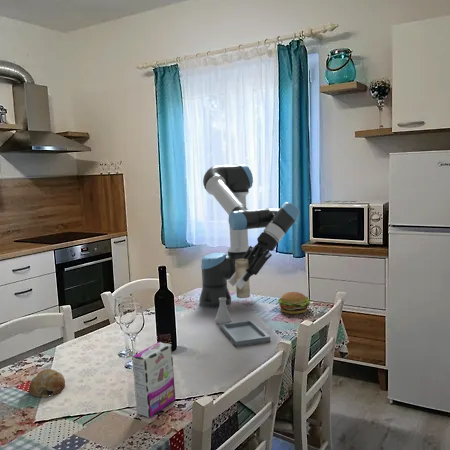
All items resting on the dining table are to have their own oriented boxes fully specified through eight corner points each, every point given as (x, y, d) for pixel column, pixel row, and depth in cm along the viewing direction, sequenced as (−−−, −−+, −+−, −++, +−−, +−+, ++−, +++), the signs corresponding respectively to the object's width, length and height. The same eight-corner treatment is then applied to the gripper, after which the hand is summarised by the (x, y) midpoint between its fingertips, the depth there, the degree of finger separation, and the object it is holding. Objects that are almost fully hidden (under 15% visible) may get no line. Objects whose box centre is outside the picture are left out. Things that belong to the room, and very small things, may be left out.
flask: (230, 325, 191) (229, 301, 190) (213, 324, 192) (212, 300, 191) (233, 319, 198) (232, 296, 197) (217, 318, 199) (216, 295, 198)
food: (277, 315, 201) (277, 297, 200) (279, 305, 214) (278, 288, 213) (310, 316, 198) (309, 297, 197) (309, 306, 212) (309, 288, 211)
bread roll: (31, 410, 136) (30, 392, 132) (27, 383, 143) (26, 365, 139) (67, 401, 140) (67, 383, 136) (61, 375, 148) (61, 357, 144)
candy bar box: (162, 396, 134) (158, 341, 132) (176, 400, 131) (173, 344, 129) (135, 414, 124) (131, 355, 122) (149, 419, 122) (145, 359, 120)
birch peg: (234, 295, 179) (233, 259, 177) (247, 293, 180) (245, 258, 178) (239, 298, 174) (237, 262, 172) (251, 297, 175) (250, 260, 173)
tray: (220, 328, 187) (220, 324, 186) (251, 324, 190) (251, 319, 190) (236, 347, 168) (236, 341, 167) (270, 341, 171) (270, 336, 171)
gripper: (289, 246, 173) (252, 297, 168) (264, 240, 189) (229, 286, 184) (277, 233, 170) (239, 284, 165) (252, 228, 186) (216, 275, 181)
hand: (234, 285), depth 175 cm, fingers closed on birch peg, 5 cm apart
